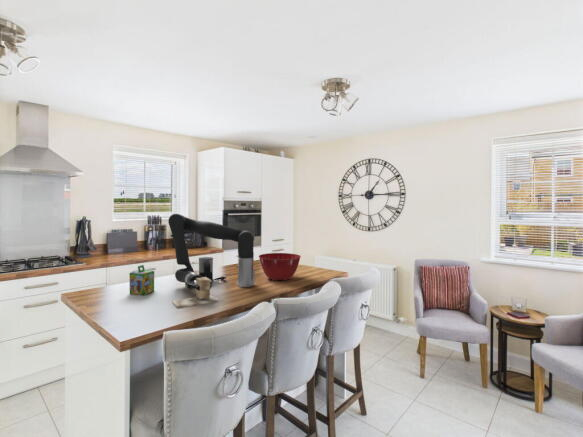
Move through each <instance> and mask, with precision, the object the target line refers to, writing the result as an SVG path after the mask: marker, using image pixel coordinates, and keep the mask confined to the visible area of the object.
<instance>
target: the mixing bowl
mask: <svg viewBox="0 0 583 437" xmlns="http://www.w3.org/2000/svg"><path fill="white" fill-rule="evenodd" d="M301 257H302V256H301V255H300V254H295V253H288V252H287V253H286V252H270V253H269V252H268V253H263V254H259V255H258V258H259V262H260V265H261V268H262V271H263V272H264V274H265V276H266V277H267V278H268V279H269V280H271V279H272V281H277V280H282V281H287V280H286V279H288V280H289V279H291V278H292V277H293V276H294V275H295V273H296V272H297V269H298V266H299V263H300V260H301Z"/></svg>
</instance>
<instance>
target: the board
mask: <svg viewBox="0 0 583 437" xmlns="http://www.w3.org/2000/svg"><path fill="white" fill-rule="evenodd" d="M171 302H172V305H174V307H175V308H177V309H180V308H188V307H192V306H198V305H205V304H210V303H216V302H219V299H218V298H217V297H216V296H214V295H212V294H210V299H207V300H201V301H200V300H199V299H197V298H196V296H195V297H190V298H183V299H177V300H176V299H175V300H172V301H171Z"/></svg>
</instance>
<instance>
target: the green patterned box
mask: <svg viewBox="0 0 583 437" xmlns="http://www.w3.org/2000/svg"><path fill="white" fill-rule="evenodd" d="M144 266H145V265H144V264H141V265H138V266H137V269H138V270H135V271H132V272H129V294H130V295H136V296H137V295H139V296H145V295H146V296H147V295H148V294H150V293H153V292H155V271H154V270H149V269H145V267H144Z"/></svg>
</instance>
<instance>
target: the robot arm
mask: <svg viewBox="0 0 583 437" xmlns="http://www.w3.org/2000/svg"><path fill="white" fill-rule="evenodd" d="M167 221H168V225H169V229H170V232H171V235H172V240H173V246H174V250H175V259H176V264H177V265H180V266H185V268H183V267H182V268H179V269H177V270H176V271H175V273H174V277H175V279H176V281H178V282H180V283H185V284H184V285H185V287H184V288H187V289H189V290H195V291H196V290H198V291H199V290H200V286H199V285H197V284H196V278H201V276H200V275H199V273H196V272H195V270H194V268H193V266H192V264H191V261H190V257H189V250H188V245H187V242H186V239H185V234H184V231H185V232H186V231H187V232H192V233H195V234H198V235H200V236H203V237H206V238H210V239H215V240H216V239H217V240H225V241H233V242H236V243H237V254H238V256H237V263H238V264H237V287H240V288H250V287H253V286H255V280H256V279H255V277H256V276H255V273H256V272H255V269H254V263H255V262H254V257H255V254H254V240H255V235H254V233H253V232H252V231H250V230H244V229H237V228H232V227H229V226H227V225H224V224H219V223H216V222H212V221H207V220H196V219H192V218H189V217H186V216H184V215H182V214H180V213H173V214H171V215H170V216H169V217H168V220H167ZM212 287H213V281H211V279H210V290H211V288H212Z"/></svg>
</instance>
